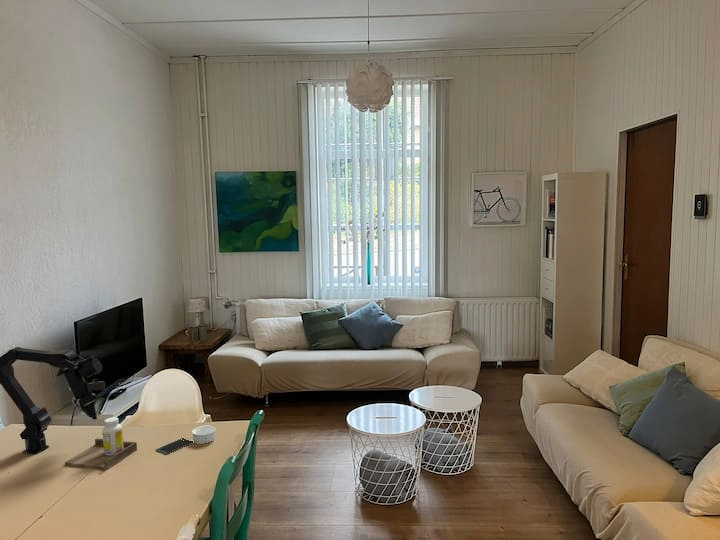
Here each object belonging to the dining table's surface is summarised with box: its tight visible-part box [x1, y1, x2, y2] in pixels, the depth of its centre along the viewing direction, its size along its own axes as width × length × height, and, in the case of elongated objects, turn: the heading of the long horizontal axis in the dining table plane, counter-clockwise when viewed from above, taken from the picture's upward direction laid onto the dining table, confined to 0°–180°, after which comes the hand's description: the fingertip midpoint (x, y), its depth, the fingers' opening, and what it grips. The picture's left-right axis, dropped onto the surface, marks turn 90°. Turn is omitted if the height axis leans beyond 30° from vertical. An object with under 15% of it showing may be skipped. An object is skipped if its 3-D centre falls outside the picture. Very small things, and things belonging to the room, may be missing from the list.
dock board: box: [64, 438, 138, 471], centre depth 188 cm, size 18×16×3 cm
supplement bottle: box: [101, 416, 124, 456], centre depth 189 cm, size 7×7×13 cm
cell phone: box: [155, 437, 194, 456], centre depth 197 cm, size 7×14×1 cm, turn 146°
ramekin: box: [191, 425, 216, 445], centre depth 201 cm, size 9×9×4 cm
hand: (93, 418), depth 195 cm, fingers open, 9 cm apart
